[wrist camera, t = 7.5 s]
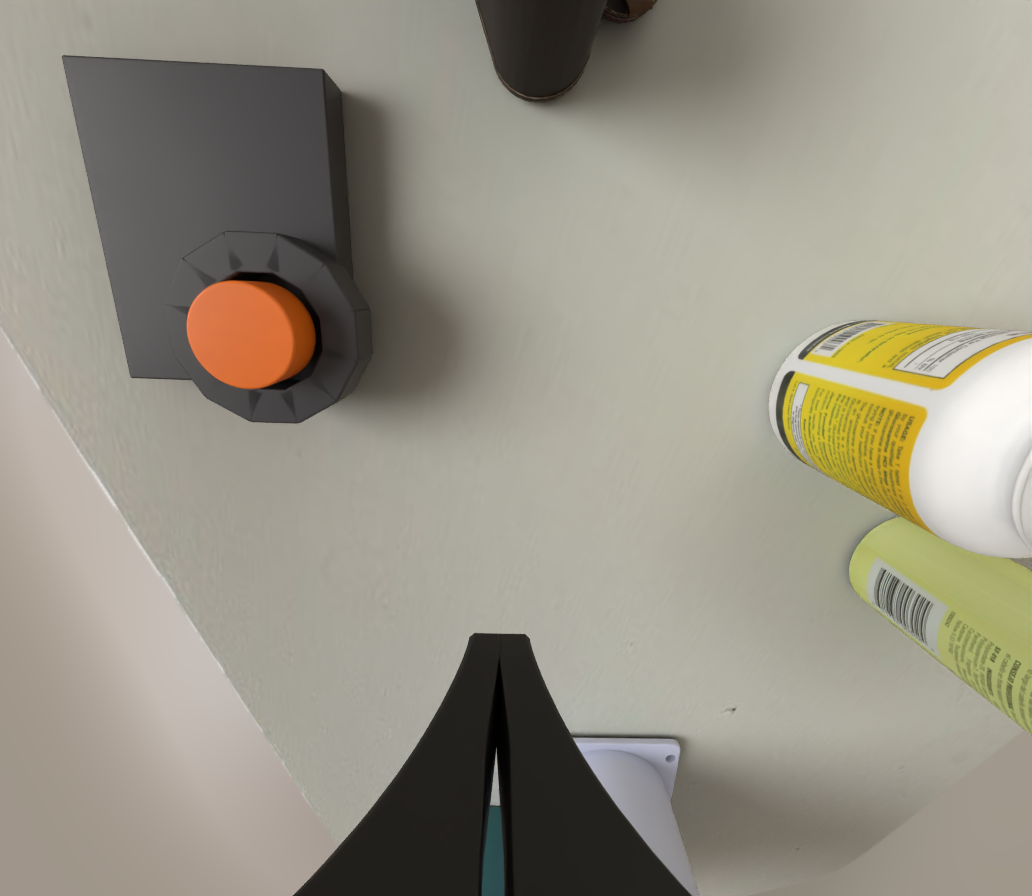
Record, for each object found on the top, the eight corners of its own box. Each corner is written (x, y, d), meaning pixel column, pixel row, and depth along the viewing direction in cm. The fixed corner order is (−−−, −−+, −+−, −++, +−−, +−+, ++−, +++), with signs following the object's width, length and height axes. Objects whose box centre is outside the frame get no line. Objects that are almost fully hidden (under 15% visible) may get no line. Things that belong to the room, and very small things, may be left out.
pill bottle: (846, 484, 22) (1171, 668, 11) (734, 425, 20) (974, 565, 10) (941, 361, 20) (1432, 439, 9) (824, 290, 19) (1227, 287, 8)
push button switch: (386, 403, 20) (362, 425, 17) (166, 396, 20) (97, 417, 16) (372, 91, 16) (337, 41, 13) (104, 78, 16) (0, 22, 13)
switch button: (320, 381, 16) (300, 391, 15) (227, 378, 16) (195, 388, 15) (312, 283, 15) (288, 282, 14) (211, 279, 15) (176, 278, 14)
